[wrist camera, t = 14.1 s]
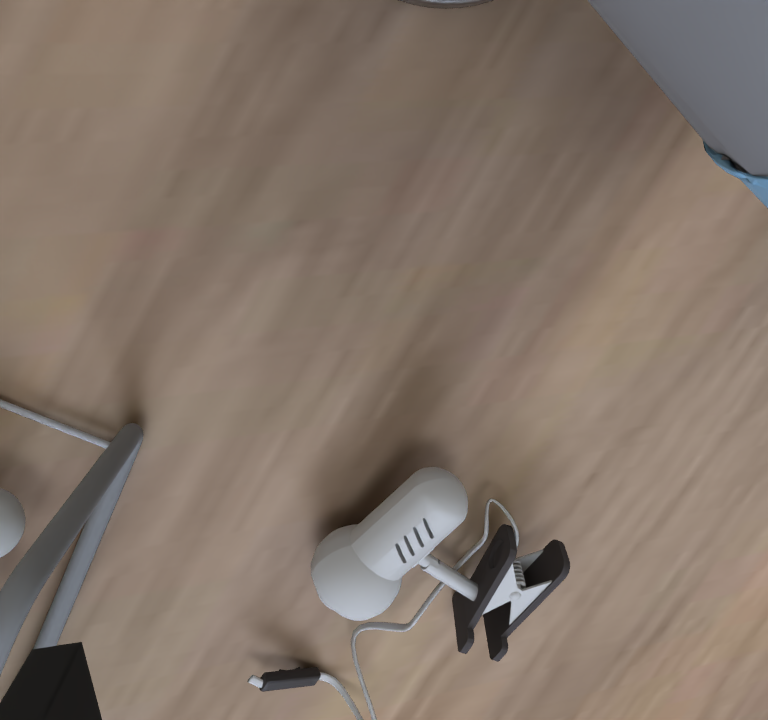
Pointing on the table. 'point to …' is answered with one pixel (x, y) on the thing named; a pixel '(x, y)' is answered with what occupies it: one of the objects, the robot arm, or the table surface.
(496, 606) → the clip-on lamp
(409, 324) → the table surface
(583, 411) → the table surface
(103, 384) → the table surface
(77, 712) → the robot arm
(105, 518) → the newton's cradle
